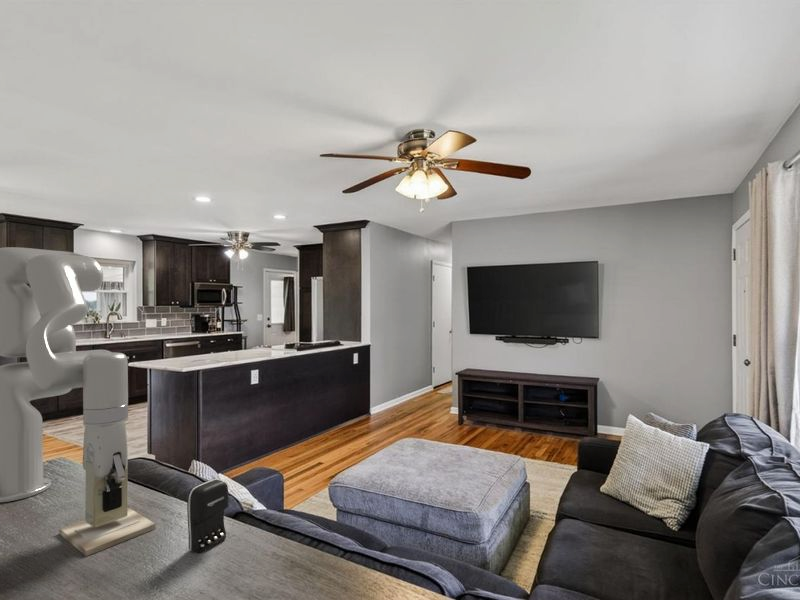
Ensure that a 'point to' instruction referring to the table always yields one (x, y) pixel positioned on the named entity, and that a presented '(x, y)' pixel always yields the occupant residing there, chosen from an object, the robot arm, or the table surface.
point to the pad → (106, 532)
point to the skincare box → (95, 499)
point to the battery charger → (207, 514)
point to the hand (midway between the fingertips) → (107, 504)
